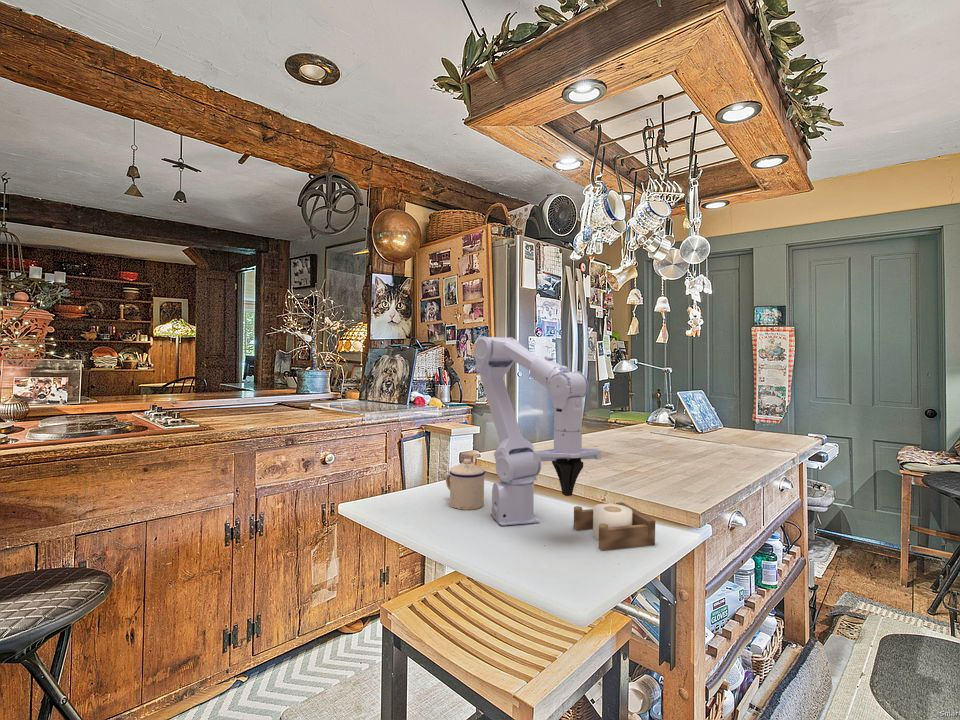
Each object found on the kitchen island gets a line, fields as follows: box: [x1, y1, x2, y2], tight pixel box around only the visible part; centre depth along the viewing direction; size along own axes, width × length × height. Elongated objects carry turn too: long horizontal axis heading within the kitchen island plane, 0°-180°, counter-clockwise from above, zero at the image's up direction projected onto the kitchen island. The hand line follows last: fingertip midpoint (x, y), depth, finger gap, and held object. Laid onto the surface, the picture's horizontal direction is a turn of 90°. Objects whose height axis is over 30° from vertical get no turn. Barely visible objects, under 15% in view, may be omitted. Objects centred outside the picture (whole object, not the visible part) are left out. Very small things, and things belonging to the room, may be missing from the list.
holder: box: [573, 501, 656, 552], centre depth 104 cm, size 12×13×5 cm
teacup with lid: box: [445, 458, 486, 511], centre depth 125 cm, size 12×9×12 cm
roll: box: [592, 503, 632, 542], centre depth 103 cm, size 8×8×6 cm
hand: (566, 494), depth 102 cm, fingers closed
